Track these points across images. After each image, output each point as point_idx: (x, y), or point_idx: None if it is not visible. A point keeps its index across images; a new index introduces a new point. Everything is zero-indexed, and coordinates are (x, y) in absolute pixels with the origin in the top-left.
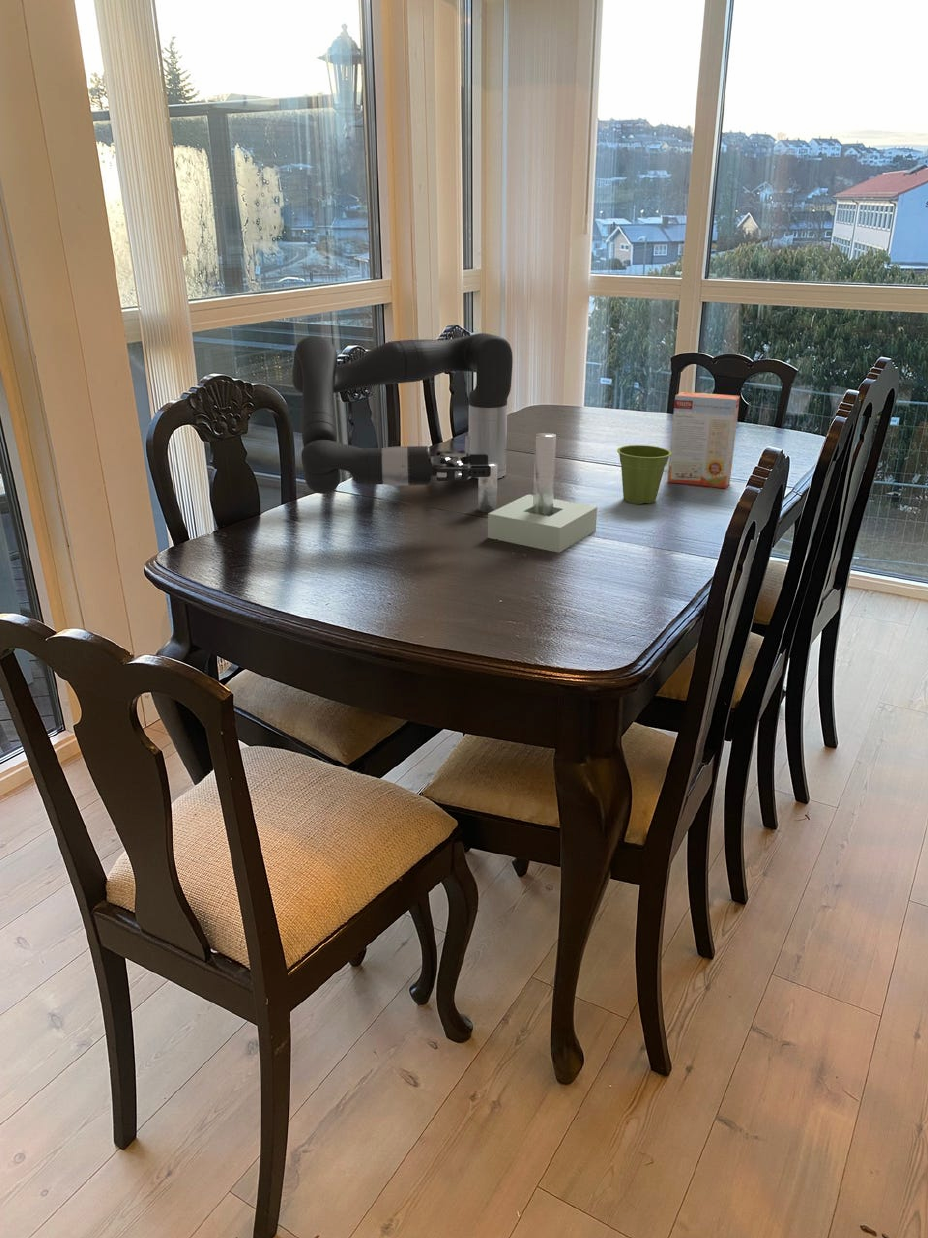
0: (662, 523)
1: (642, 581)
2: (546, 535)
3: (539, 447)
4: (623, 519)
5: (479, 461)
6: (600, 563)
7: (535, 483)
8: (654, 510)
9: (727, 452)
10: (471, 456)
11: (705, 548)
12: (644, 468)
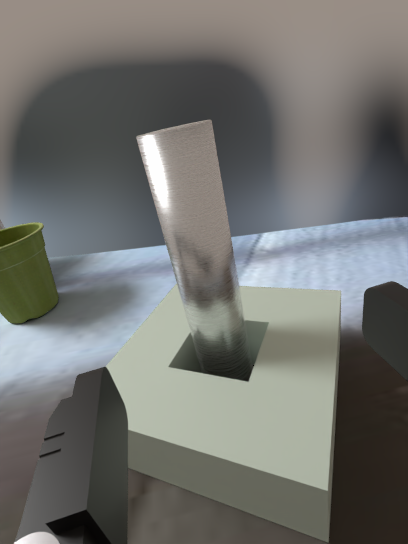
0: (146, 274)
1: (385, 246)
2: (339, 331)
3: (214, 163)
4: (127, 305)
5: (119, 448)
6: (350, 284)
7: (228, 287)
8: (88, 289)
9: (1, 225)
10: (95, 497)
11: (232, 239)
12: (41, 249)
